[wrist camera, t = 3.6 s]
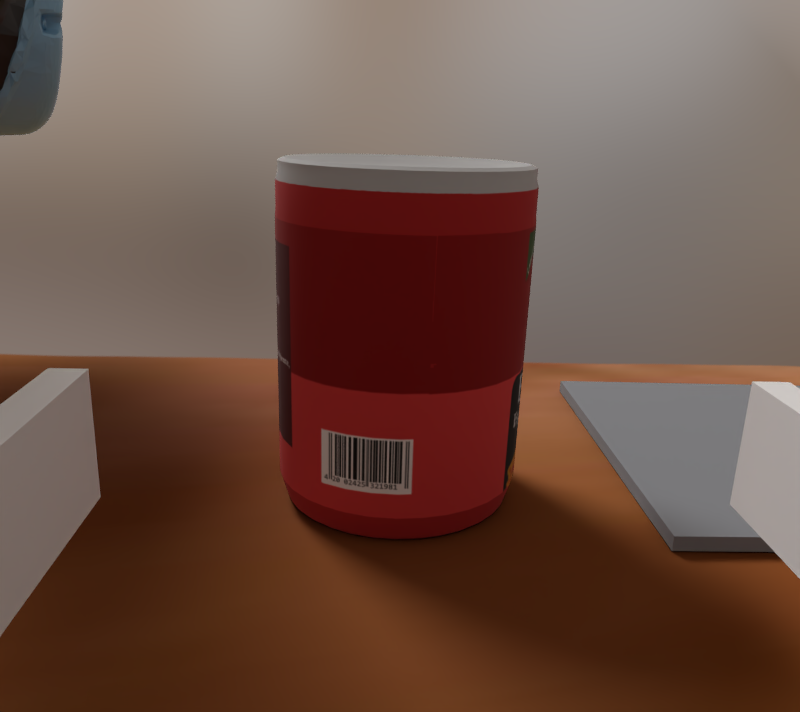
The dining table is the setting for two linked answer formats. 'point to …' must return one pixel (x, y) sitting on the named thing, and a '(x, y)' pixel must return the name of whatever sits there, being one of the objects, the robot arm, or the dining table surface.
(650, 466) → the rubber mat
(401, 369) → the canned food
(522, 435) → the dining table surface
